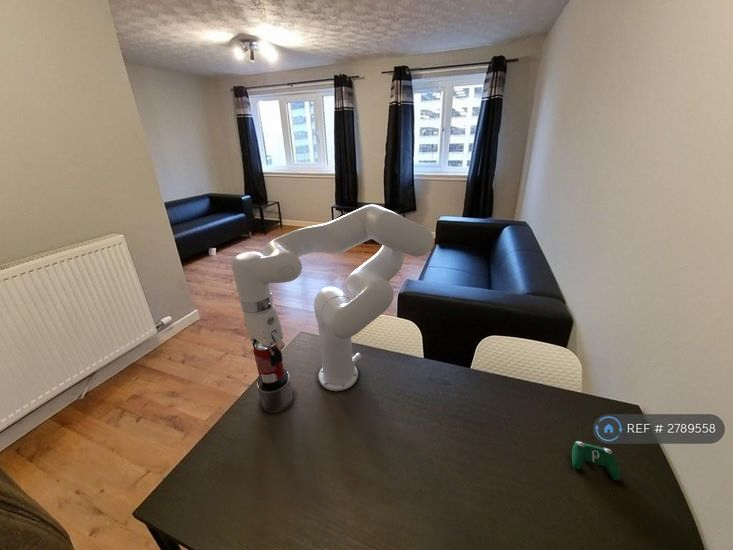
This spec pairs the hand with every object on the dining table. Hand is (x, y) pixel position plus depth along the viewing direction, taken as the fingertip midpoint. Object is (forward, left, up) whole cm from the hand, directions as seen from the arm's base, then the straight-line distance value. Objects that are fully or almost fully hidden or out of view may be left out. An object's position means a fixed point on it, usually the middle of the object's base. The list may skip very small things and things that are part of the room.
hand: (268, 356), depth 83 cm
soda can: (0, 0, -7) cm, 7 cm away
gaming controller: (-34, +75, -17) cm, 84 cm away
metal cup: (0, 0, -16) cm, 16 cm away
